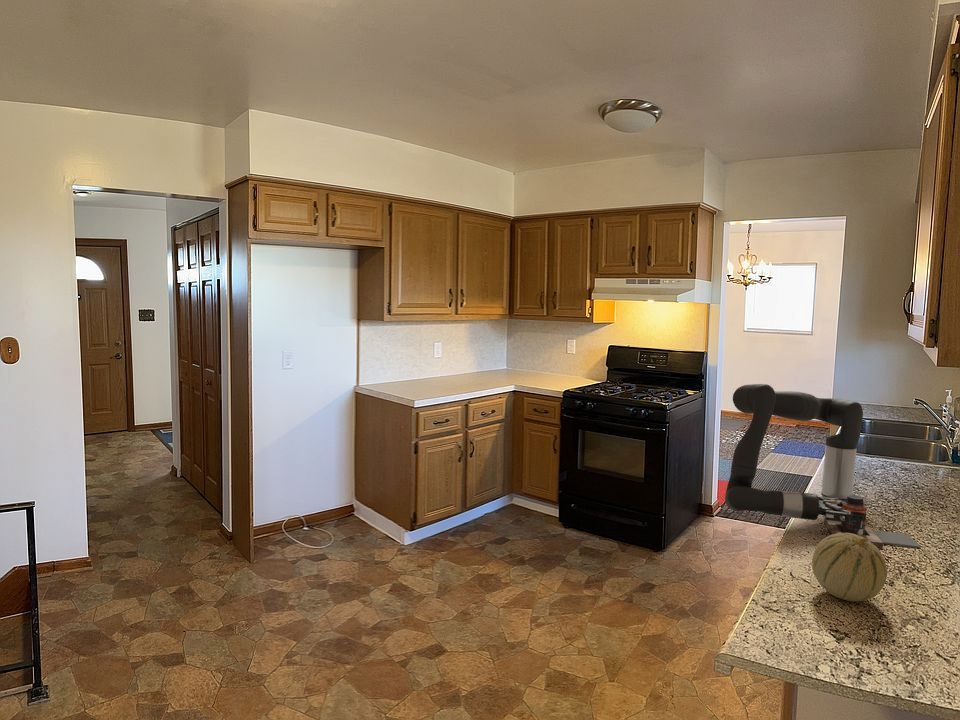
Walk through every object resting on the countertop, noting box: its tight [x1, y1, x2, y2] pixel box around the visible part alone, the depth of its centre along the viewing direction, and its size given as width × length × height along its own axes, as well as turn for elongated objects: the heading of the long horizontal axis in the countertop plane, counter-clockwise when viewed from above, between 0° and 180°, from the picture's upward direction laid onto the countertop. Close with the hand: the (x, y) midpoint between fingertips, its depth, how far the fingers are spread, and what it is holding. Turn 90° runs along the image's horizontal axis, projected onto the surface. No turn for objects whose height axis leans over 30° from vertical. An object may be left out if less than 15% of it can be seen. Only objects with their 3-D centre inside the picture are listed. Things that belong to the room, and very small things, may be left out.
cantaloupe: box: [811, 533, 888, 603], centre depth 142 cm, size 15×15×15 cm
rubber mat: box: [873, 530, 921, 549], centre depth 177 cm, size 9×9×1 cm
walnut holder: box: [823, 517, 884, 549], centre depth 180 cm, size 16×11×2 cm
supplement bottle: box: [839, 494, 867, 535], centre depth 180 cm, size 6×6×11 cm
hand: (861, 512), depth 179 cm, fingers open, 8 cm apart
